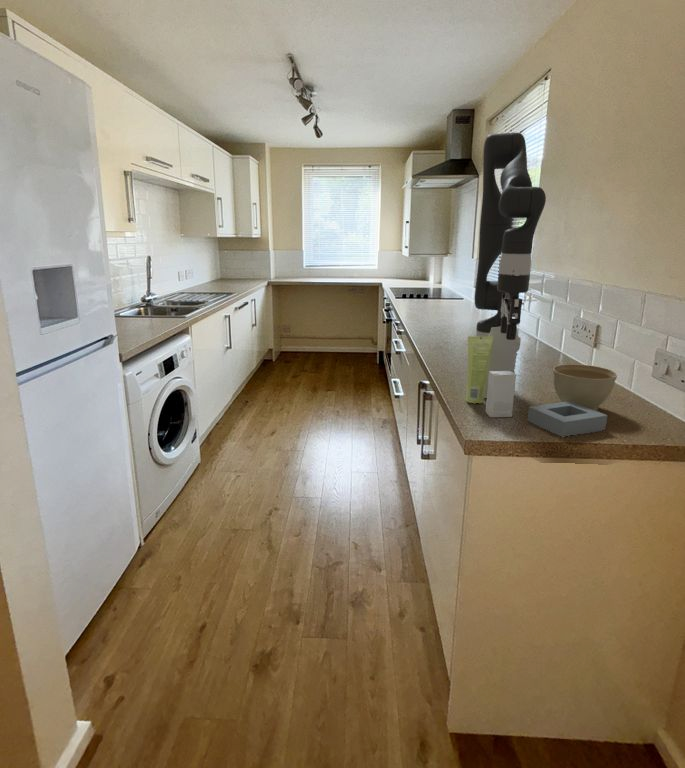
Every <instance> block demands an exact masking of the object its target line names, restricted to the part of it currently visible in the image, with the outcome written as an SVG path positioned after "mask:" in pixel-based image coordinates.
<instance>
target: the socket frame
mask: <svg viewBox="0 0 685 768" xmlns="http://www.w3.org/2000/svg"><path fill="white" fill-rule="evenodd" d="M527 413H528V414H527V422H528V421H529V422H528V423H530V422H531V423H530V424H532V423H533V424H532V425H535V426H536V427H538V428H541V429H543V430H545V429H546V431H547V430H548V431H547V432H549V431H550V433H551V432H552V433H551V434H553V433H555V434H554V435H556V434H557V435H556V436H558V435H559V436H558V437H560V436H561V437H560V438H566V437H565V436H568V437H571V436H570V435H574V436H578V435H577V434H580V435H585V433H586V434H591V432H592V433H597V432H603V431H606V427H607V426H606V425H607V421H608V420H607V419H608V414H605V413H603V412H600V411H598V410H597V411H595V410H592V409H590V408H587V407H584V406H582V405H579V404H577V403H574V402H571V401H567V402H561V401H560V402H553V403H552V402H551V403H546V404H541V405H540V404H538V405H531V406H528V412H527ZM602 430H603V431H602Z"/></svg>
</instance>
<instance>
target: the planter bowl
mask: <svg viewBox="0 0 685 768" xmlns="http://www.w3.org/2000/svg"><path fill="white" fill-rule="evenodd" d="M552 372H553V376H552V378H553V379H552V381H553V387H554V390H555V392H556V394H557V396H558V399H560V402H567V401H571V402H574V403H577V404H579V405H582V406H584V407H587V408H590V409H592V410H595V411H598V409H599V407H600V406H601V405H602V404H603V403H605V401H606V400H607V399H608V398H609V397H610V394H611V393H612V391H613V389H614V386H615V382H616V380H617V377H618V374H617V372H615V371H613V370H611V369H608V368H605V367H601V366H596V365H589V364H588V365H587V364H582V363H581V364H578V363H577V364H575V363H570V364H568V363H567V364H566V363H565V364H559V365H556V366H553V369H552Z"/></svg>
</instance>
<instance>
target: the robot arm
mask: <svg viewBox="0 0 685 768" xmlns="http://www.w3.org/2000/svg"><path fill="white" fill-rule="evenodd" d="M482 154H483V155H482V156H483V159H482V160H483V161H482V199H481V200H482V201H481V209H480V210H481V211H480V221H479V222H480V223H479V242H478V244H479V245H478V262H477V263H478V264H477V273H476V278H475V279H476V280H475V281H476V282H475V288H474V289H475V290H474V298H473V299H474V306H475V308H476V309H477V310H487V311H497V312H496V313H495V315H493V316H492V317H489V318H484V319H481V320H479V321H478V322H477V324H476V330H475V337H488V336H489V333H490V331H491V328H492V327H499V326H501V331H500V332H501V333H506V339H507V340H515V338H516V329H517V330H518V325H519V324H520V323H521V314H522V304H523V299H522V298H520V294H521V293H528V291H529V286H530V278H531V269H532V253H533V252H532V251H533V244H534V236H535V233H536V232H535V231H536V229H537V226H538V223H539V221H540V218H541V216H542V214H543V210H544V208H545V205H546V202H547V201H546V199H547V197H546V196H547V195H546V192H545V191H544V189H543V188H541V187H539V186H533V184H532V179H531V177H530V174H529V170H528V157H527V144H526V139H525V137H524V135H523V134H522V133H520V132H502V133H490V134H488V135H487V136H486V138H485V140H484V145H483V153H482ZM502 169H503V170H502ZM496 170H502V171H501V174H500V178H499V179H500V185H501V186H500V187H501V190H502V192H501V191H500V189H499V186H498V183H497V181H496V180H497V179H496V174H495V171H496ZM519 218H520V219H525V218H526V219H525V221H524V223H523V225H521V226H517V227H513V219H519ZM512 227H513V228H512ZM499 257H500V259H499V265H498V275H497V280H487V279H488V274H489V272H490V271H491V269H492V267H493V265H494V264H495V262H496V260H497V259H498V258H499Z"/></svg>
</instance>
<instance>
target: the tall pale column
mask: <svg viewBox="0 0 685 768" xmlns="http://www.w3.org/2000/svg"><path fill="white" fill-rule="evenodd" d="M500 331H501V326H499V327H492V328H491V331H490V333H489V336H488V337H493V342H492V347H491V352H490V357H489V363H488V369H487V375H486V382H485V390H484V397H483V398H487V390H488V377H489V371H511V372H513V373H515V369H516V362H517V356H518V352H519V350H520V349H521V348H520V347H521V340H522V338H521V337H520V336H519V332H518V328H517V329H516V338H515V340H507V339H506V333H501V332H500ZM515 374H516V373H515Z"/></svg>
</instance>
